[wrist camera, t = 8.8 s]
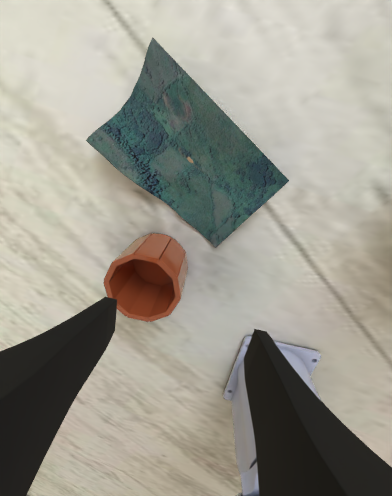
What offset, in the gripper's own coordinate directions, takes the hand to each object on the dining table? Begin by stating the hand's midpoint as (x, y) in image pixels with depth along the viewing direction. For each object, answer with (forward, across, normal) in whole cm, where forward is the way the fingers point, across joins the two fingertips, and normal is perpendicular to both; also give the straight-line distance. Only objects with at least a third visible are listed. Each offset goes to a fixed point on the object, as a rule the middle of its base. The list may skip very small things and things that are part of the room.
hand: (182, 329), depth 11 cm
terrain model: (+10, +2, -8) cm, 13 cm away
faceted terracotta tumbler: (+9, +3, +1) cm, 10 cm away
